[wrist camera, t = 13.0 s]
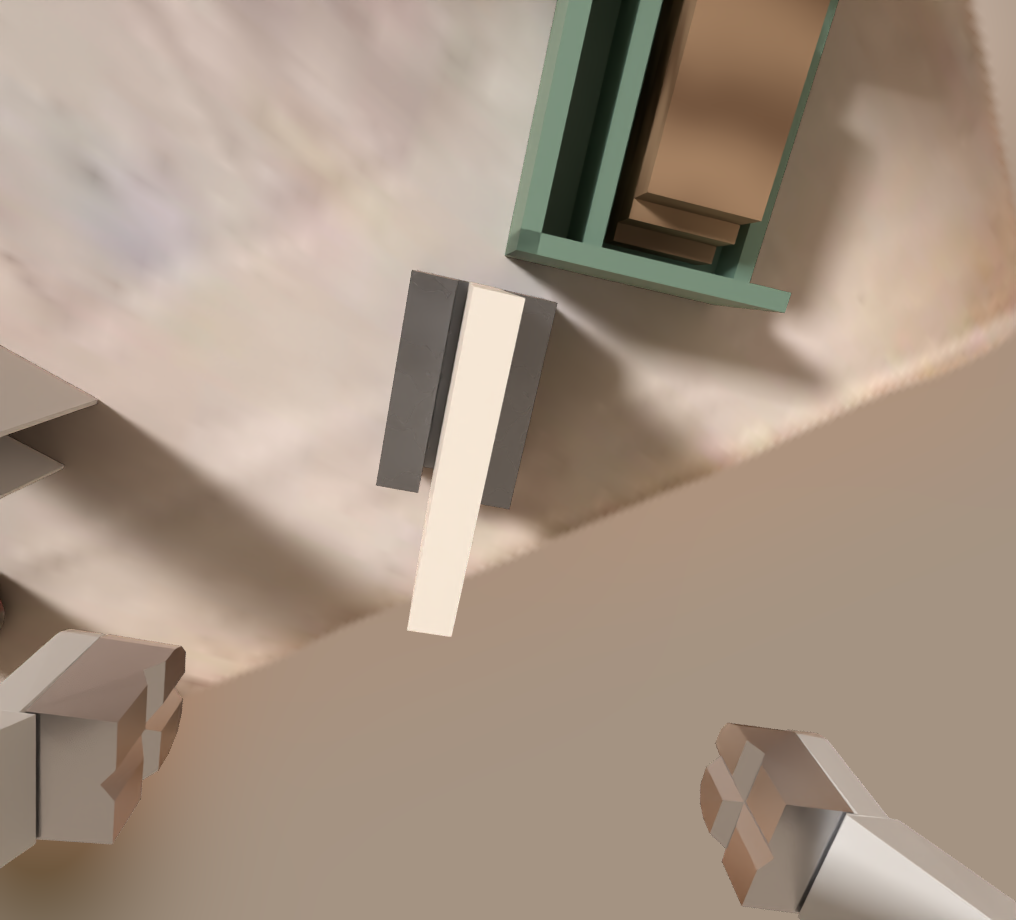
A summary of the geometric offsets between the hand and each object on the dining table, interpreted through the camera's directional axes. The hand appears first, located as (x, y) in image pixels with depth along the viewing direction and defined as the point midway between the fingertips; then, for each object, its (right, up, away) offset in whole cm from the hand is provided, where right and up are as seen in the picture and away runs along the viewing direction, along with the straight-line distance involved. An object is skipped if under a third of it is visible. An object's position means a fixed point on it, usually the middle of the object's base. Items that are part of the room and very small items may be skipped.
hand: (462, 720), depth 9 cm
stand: (-2, +9, +30) cm, 32 cm away
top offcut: (+11, +22, +21) cm, 33 cm away
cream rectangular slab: (-2, +9, +29) cm, 30 cm away
